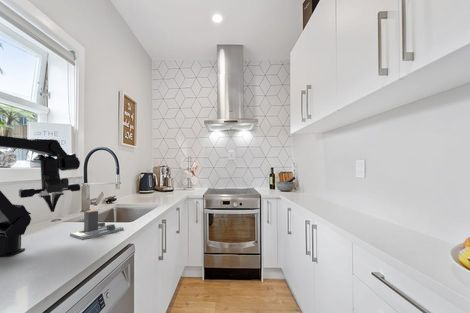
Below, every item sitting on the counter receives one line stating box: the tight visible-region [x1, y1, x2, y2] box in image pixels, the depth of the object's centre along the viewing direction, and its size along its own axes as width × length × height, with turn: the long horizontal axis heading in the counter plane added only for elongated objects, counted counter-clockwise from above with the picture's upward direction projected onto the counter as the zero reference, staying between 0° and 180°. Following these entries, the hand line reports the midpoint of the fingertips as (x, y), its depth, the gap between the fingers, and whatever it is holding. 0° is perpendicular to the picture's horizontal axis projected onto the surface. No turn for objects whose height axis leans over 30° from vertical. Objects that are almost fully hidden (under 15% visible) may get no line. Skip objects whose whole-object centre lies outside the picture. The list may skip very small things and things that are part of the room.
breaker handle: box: [83, 209, 99, 232], centre depth 107 cm, size 4×4×9 cm
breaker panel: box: [69, 221, 125, 241], centre depth 110 cm, size 18×10×3 cm, turn 146°
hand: (52, 211), depth 98 cm, fingers closed
